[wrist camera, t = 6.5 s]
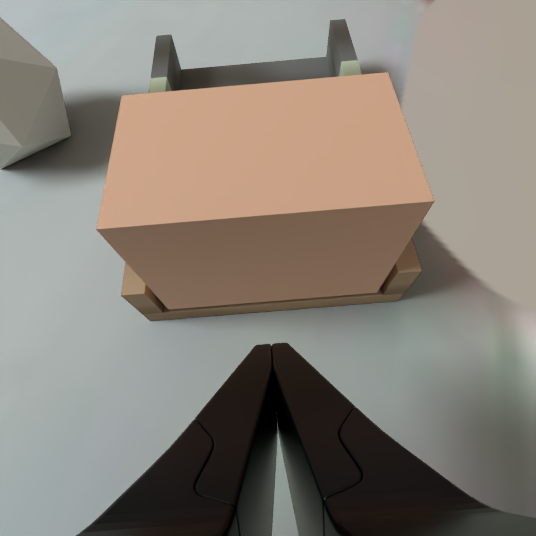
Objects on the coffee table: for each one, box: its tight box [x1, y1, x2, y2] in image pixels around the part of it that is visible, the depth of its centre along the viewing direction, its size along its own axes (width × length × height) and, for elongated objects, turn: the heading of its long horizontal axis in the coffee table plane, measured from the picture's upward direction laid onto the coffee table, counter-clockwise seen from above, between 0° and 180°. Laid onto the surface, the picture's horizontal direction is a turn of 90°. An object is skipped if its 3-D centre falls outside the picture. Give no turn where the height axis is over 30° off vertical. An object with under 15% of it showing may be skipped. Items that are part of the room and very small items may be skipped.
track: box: [121, 19, 422, 321], centre depth 20 cm, size 19×13×4 cm
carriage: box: [96, 72, 434, 309], centre depth 14 cm, size 6×10×7 cm, turn 94°
